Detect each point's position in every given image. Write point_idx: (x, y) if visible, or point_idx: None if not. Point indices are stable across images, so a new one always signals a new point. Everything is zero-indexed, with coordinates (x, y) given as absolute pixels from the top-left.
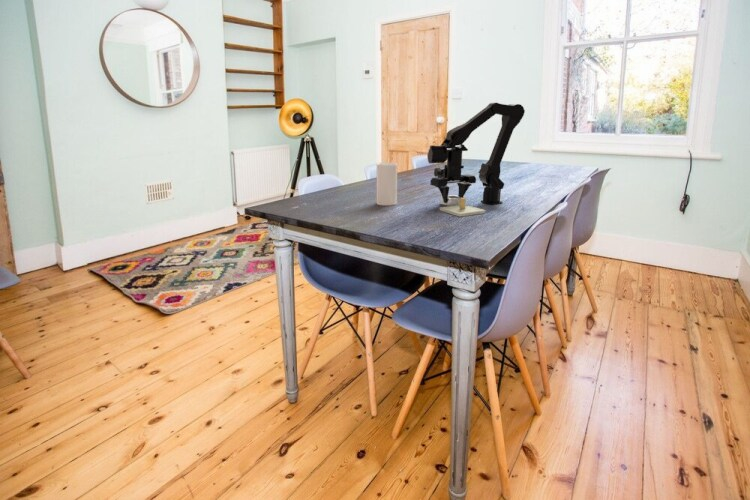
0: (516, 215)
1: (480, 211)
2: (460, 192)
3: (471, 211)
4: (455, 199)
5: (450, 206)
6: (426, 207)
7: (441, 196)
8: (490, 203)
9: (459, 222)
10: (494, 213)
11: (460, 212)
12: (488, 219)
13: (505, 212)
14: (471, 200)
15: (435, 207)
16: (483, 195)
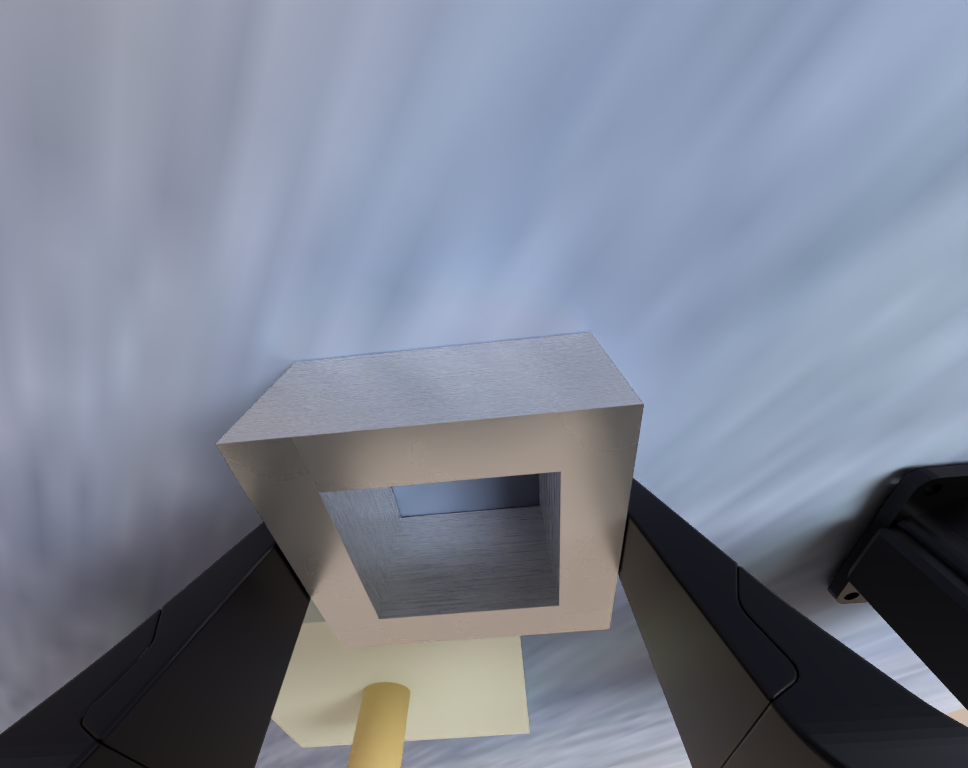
0: (641, 751)
1: (482, 731)
2: (667, 625)
3: (413, 733)
4: (422, 634)
5: (317, 627)
6: (37, 478)
7: (241, 457)
8: (834, 595)
9: (263, 764)
10: (571, 719)
11: (321, 734)
12: (443, 761)
13: (653, 719)
14: (950, 331)
15: (172, 510)
16: (966, 618)
